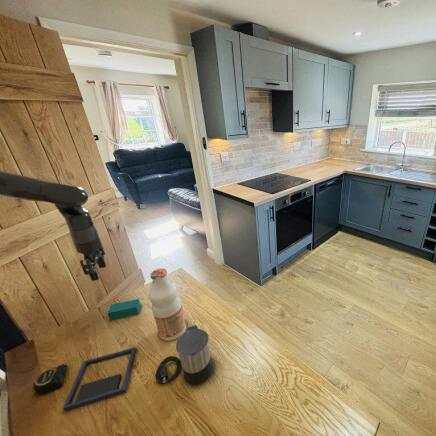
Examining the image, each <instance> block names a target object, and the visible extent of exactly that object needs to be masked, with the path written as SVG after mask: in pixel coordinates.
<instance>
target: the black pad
mask: <svg viewBox="0 0 436 436" xmlns="http://www.w3.org/2000/svg"><path fill="white" fill-rule="evenodd" d="M121 381H122V374H121V373H118V374H115V375H111V376H107V377H105V378H101V379H98V380H94V381H90V382H87V383H84V384H81V386H80V388H79V390H78V393H77V396H76V398H75V401H74V402H78V401H81V400H84V399H87V398H91V397H94V396H97V395H100V394H103V393H107V392H110V391H113V390H116V389H120V384H121Z"/></svg>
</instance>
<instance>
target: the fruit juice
mask: <svg viewBox="0 0 436 436" xmlns="http://www.w3.org/2000/svg"><path fill="white" fill-rule="evenodd" d="M150 279H151V280H152V281H151V286H150V287H151V288H150V290H149V292H148V299H149V301H150V303H151V311H152V314H153V317H154V321H155V324H156V328H157V331H158V335H159V337H160V339H161V340H163V341H166V342H169V341H174V340H176V339H177V340H178V339H179V338H180V337H181V336H182V334H184V333H185V332H186V331H187V322H186V318H185V313H184V308H183V303H182V300H181V297H180V295H179V288H178V285H177V283H175V282H173V281H172V280H170V278H169V277H168V271H167V269H166V268H163V267H161V268H160V267H159V268H156V269H154V270H152V271H151V272H150Z"/></svg>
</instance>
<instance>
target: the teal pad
mask: <svg viewBox="0 0 436 436" xmlns="http://www.w3.org/2000/svg"><path fill="white" fill-rule="evenodd" d="M141 308H142V305H141V301H140V298H136V299H131V300H127V301H121V302H117V303H112V304H110V305H109V308H108V311H107V316H108V318H109V321H114V320H118V319H122V318H129V317H131V316H137V315H139V314H140V311H141Z"/></svg>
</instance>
